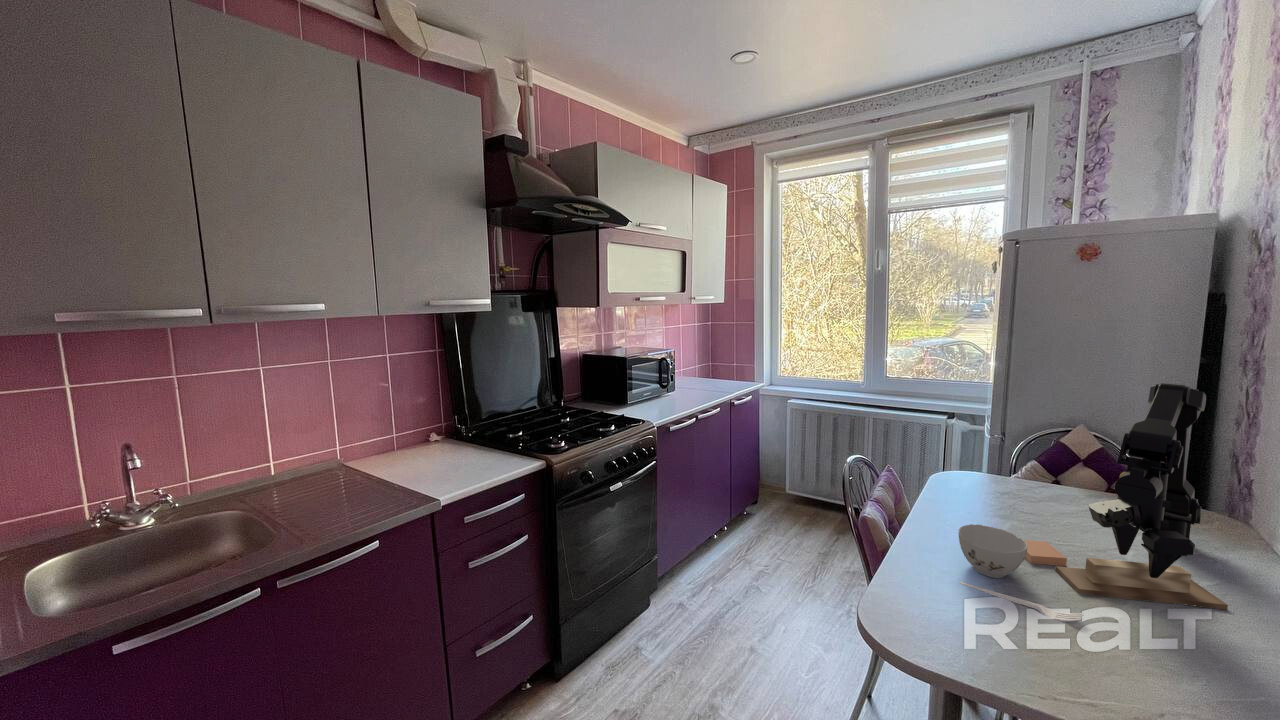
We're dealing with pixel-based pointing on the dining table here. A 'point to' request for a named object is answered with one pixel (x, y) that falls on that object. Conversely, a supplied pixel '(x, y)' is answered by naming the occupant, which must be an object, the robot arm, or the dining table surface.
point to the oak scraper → (1136, 575)
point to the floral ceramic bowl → (992, 549)
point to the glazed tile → (1044, 554)
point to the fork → (1033, 606)
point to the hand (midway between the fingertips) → (1137, 565)
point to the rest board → (1139, 591)
